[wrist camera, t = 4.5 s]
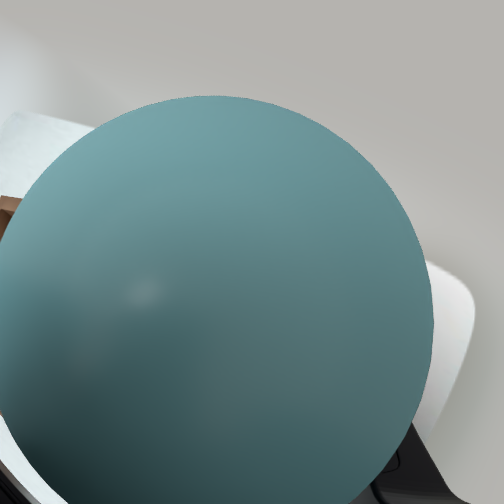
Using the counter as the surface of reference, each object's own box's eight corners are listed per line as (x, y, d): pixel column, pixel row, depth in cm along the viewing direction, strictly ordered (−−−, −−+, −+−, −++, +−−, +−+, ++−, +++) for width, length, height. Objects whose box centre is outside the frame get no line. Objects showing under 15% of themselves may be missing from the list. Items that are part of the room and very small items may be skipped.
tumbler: (294, 415, 13) (341, 584, 1) (182, 386, 14) (-32, 411, 2) (320, 304, 15) (427, 131, 3) (211, 280, 16) (76, 104, 4)
